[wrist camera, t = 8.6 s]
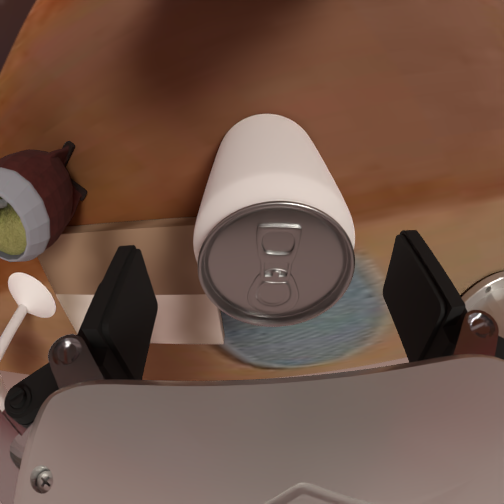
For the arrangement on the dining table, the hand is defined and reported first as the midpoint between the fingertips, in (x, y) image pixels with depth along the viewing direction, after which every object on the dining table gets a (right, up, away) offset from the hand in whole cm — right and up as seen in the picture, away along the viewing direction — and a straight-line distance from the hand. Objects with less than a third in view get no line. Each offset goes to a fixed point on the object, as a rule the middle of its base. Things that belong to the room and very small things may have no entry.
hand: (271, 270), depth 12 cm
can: (0, +7, +10) cm, 12 cm away
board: (-12, -2, +16) cm, 20 cm away
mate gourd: (-16, +7, +10) cm, 20 cm away
